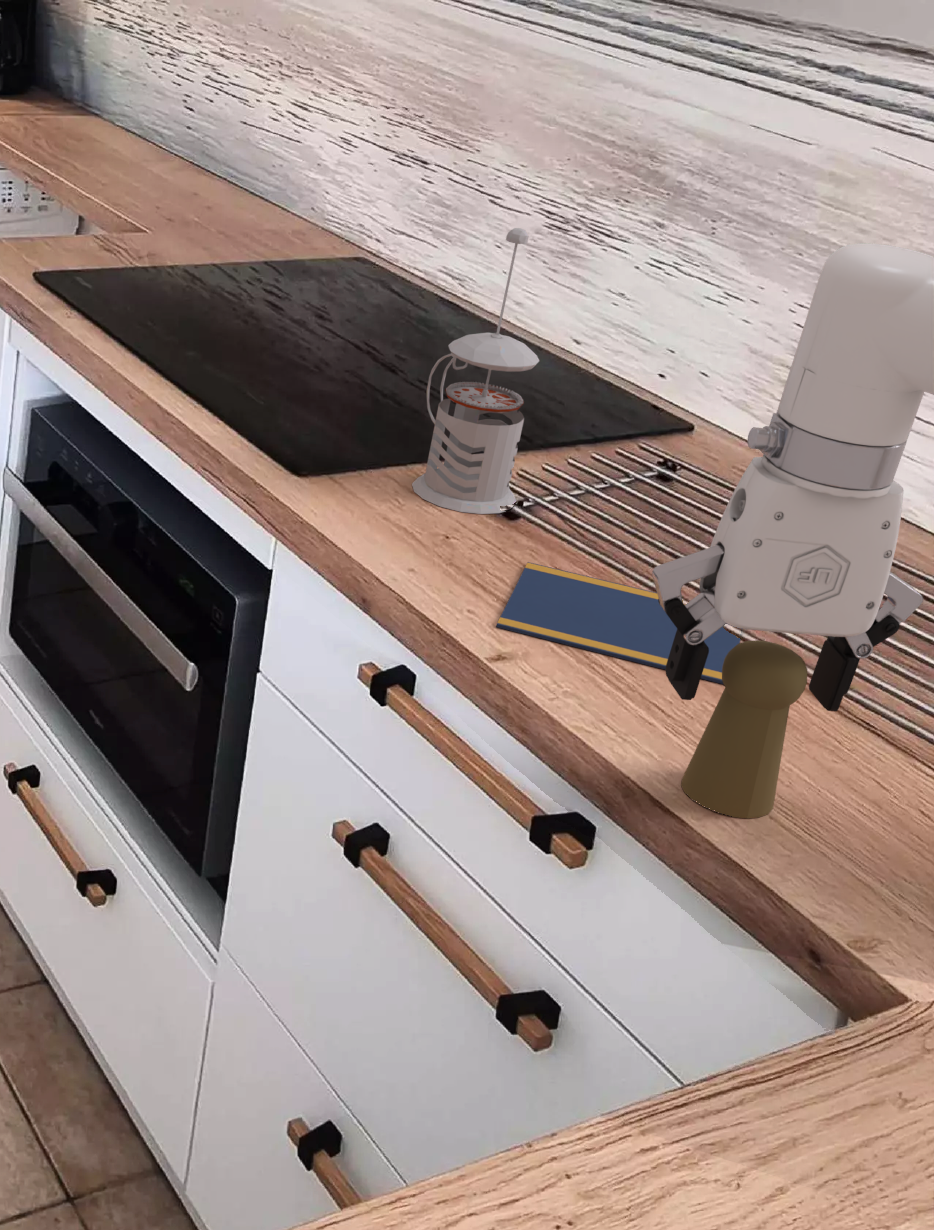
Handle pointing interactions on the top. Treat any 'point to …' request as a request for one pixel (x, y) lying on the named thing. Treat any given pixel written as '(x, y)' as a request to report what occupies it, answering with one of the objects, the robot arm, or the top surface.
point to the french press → (477, 423)
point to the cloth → (601, 618)
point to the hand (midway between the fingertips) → (751, 695)
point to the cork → (746, 731)
